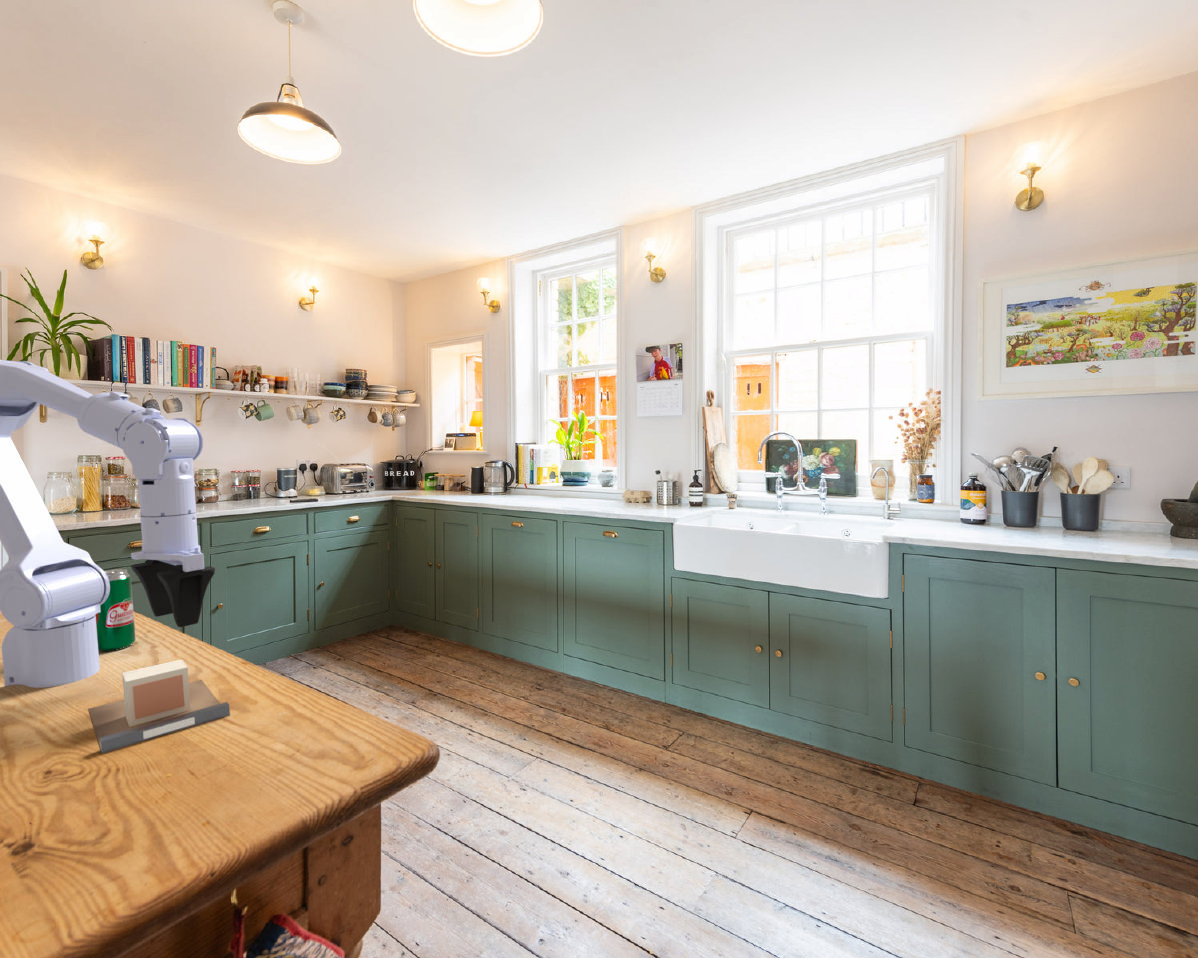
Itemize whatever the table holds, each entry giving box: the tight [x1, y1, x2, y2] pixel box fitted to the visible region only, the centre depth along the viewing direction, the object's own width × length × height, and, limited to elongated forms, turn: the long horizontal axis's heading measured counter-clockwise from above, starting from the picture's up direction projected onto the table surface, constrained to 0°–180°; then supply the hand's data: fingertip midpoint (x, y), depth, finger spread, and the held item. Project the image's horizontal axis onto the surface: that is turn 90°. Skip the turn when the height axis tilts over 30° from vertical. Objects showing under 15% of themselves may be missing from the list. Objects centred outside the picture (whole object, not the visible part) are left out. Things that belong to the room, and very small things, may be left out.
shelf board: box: [88, 679, 231, 754], centre depth 67 cm, size 11×14×2 cm
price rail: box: [99, 701, 231, 754], centre depth 62 cm, size 11×1×1 cm, turn 135°
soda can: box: [95, 568, 136, 652], centre depth 93 cm, size 5×5×12 cm
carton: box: [122, 658, 191, 727], centre depth 67 cm, size 6×4×5 cm, turn 134°
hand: (175, 619), depth 76 cm, fingers open, 7 cm apart
